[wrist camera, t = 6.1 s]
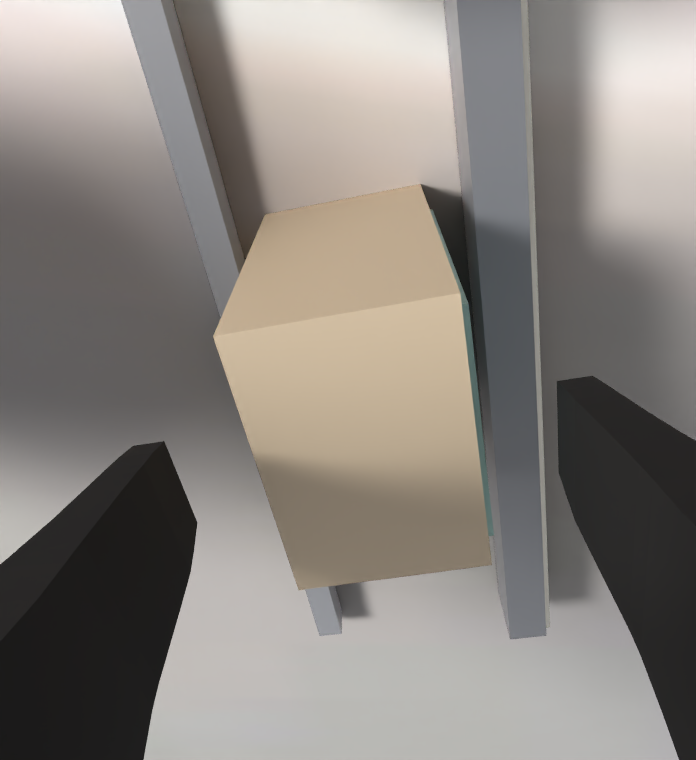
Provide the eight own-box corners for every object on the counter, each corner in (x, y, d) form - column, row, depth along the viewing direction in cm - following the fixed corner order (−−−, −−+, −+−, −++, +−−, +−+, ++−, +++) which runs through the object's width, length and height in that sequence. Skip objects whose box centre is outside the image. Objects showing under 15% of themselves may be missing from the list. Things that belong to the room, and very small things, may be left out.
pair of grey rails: (320, 613, 24) (318, 660, 22) (15, -398, 11) (-48, -472, 9) (537, 587, 23) (552, 634, 21) (483, -534, 10) (510, -644, 8)
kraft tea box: (316, 407, 19) (298, 590, 13) (264, 214, 16) (213, 336, 10) (452, 385, 19) (498, 563, 13) (426, 182, 16) (469, 290, 10)
